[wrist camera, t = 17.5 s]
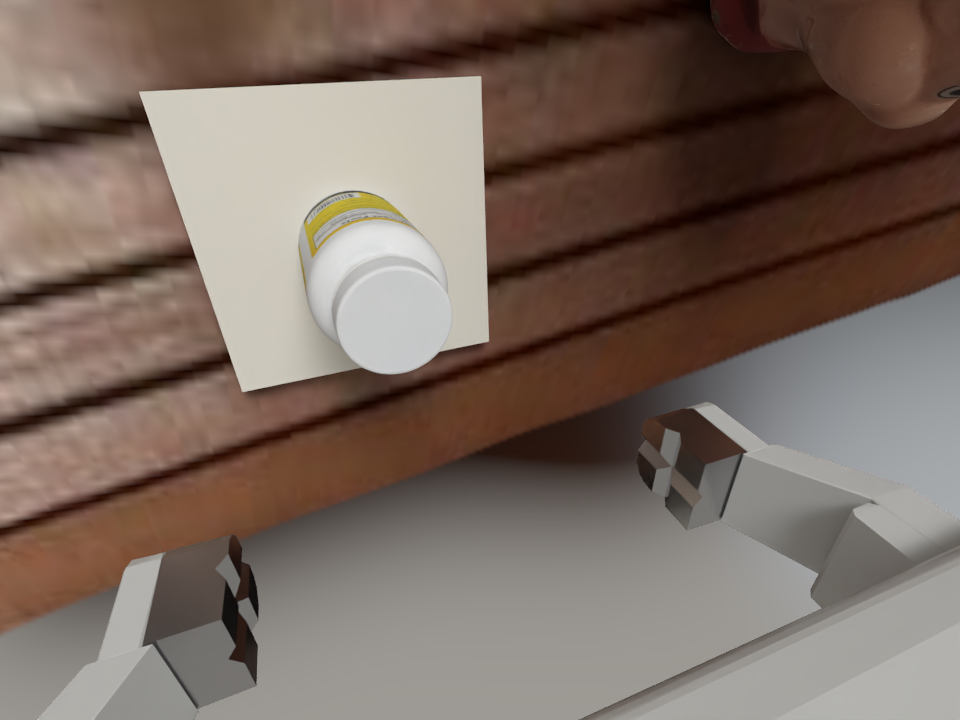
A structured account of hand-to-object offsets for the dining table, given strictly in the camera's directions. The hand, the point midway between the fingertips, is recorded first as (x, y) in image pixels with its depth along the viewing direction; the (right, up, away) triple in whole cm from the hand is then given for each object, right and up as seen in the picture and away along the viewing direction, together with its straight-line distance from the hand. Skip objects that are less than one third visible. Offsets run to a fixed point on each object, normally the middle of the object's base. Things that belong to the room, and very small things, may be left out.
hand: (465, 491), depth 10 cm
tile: (-6, +9, +16) cm, 19 cm away
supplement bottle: (-6, +8, +15) cm, 18 cm away
